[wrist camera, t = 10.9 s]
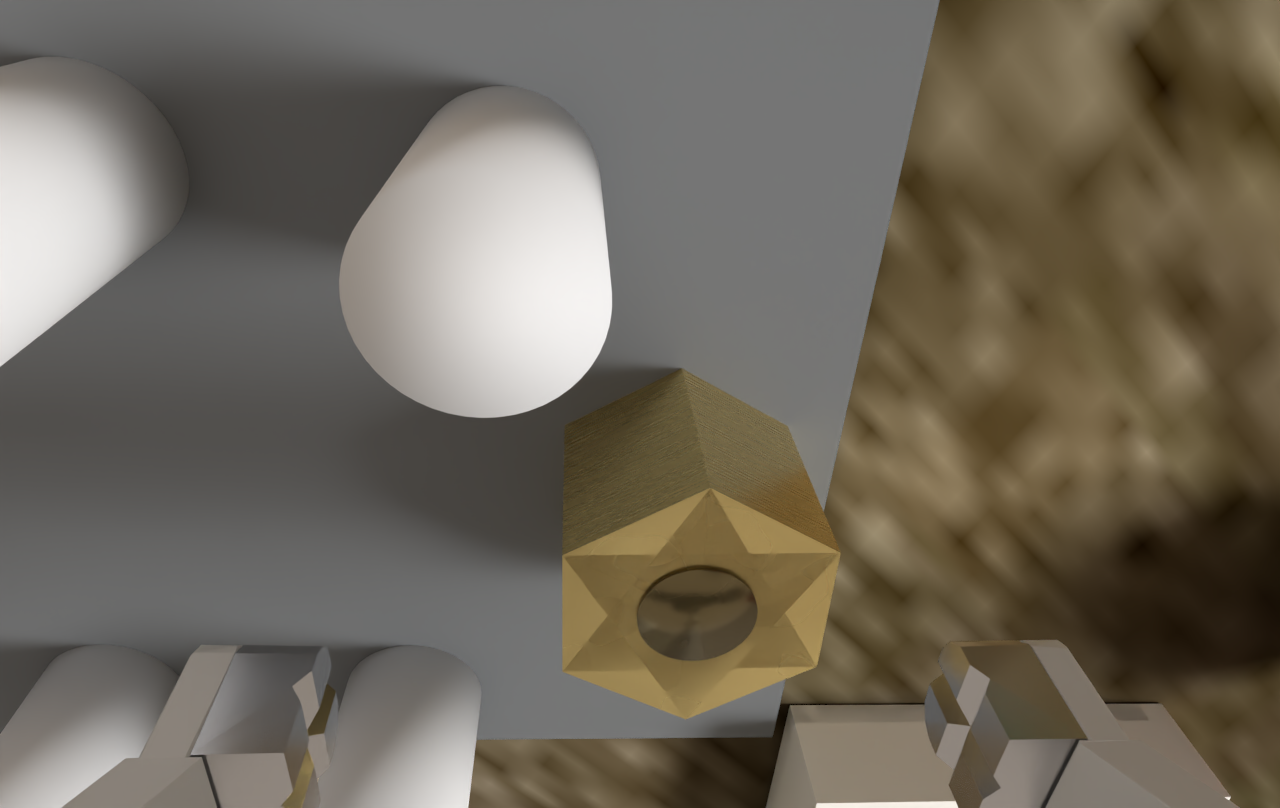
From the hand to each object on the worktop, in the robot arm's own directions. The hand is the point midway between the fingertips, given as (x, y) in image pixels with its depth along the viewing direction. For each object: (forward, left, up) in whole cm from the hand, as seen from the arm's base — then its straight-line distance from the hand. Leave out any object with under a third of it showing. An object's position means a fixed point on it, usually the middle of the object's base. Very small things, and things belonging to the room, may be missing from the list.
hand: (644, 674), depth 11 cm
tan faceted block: (0, -1, -5) cm, 5 cm away
